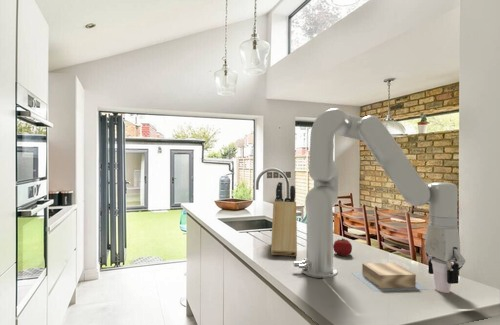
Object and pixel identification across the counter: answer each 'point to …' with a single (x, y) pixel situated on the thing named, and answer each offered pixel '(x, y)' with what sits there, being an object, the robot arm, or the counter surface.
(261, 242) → the counter surface
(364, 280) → the base board
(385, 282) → the oak riser
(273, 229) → the knife block
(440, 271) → the smoothie
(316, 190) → the robot arm
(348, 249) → the tomato
